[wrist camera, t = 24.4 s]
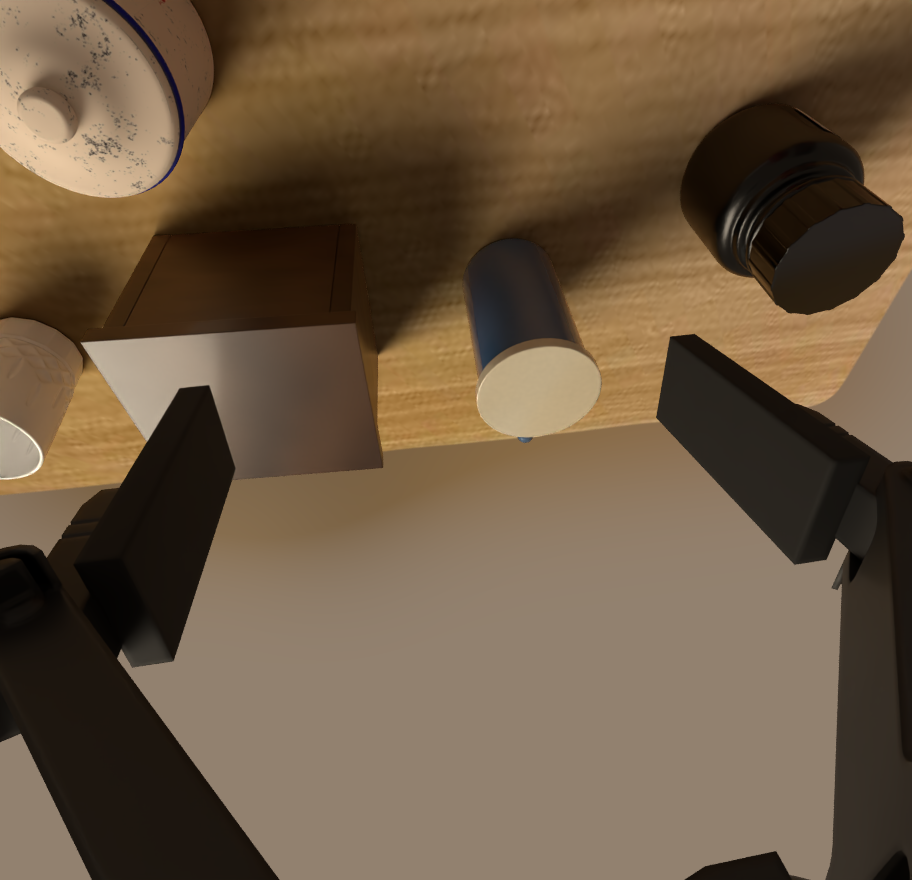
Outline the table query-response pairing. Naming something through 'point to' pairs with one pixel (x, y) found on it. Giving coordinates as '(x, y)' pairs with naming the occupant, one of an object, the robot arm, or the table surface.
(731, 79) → the table surface
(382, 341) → the table surface
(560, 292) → the blue lidded mug
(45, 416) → the white cup
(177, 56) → the teacup with lid
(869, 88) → the table surface
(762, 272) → the ink bottle
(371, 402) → the brown miniature bookshelf
